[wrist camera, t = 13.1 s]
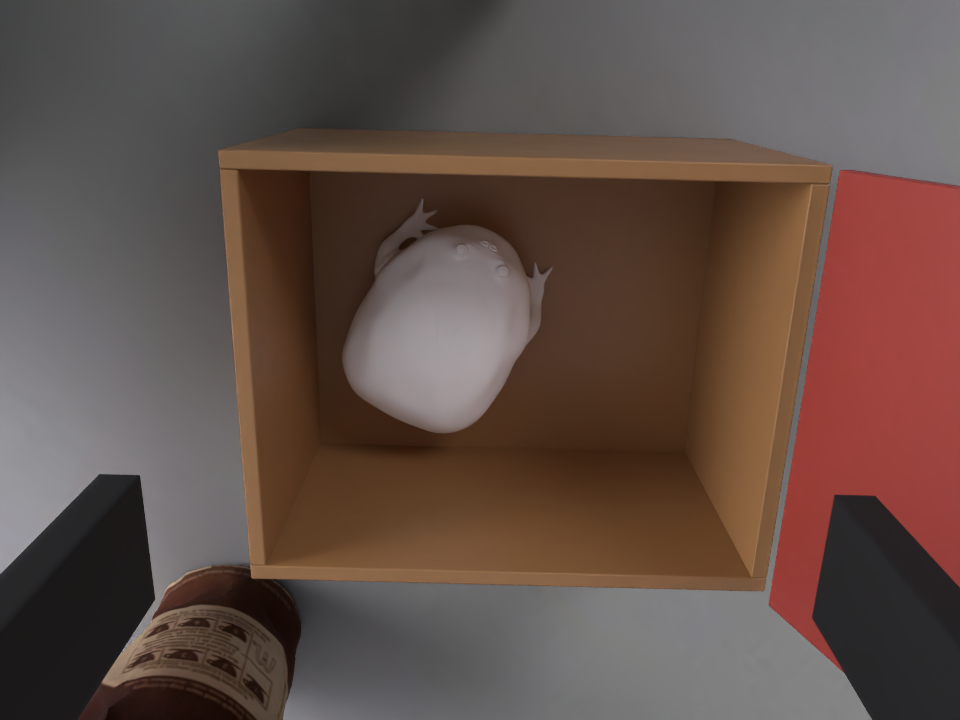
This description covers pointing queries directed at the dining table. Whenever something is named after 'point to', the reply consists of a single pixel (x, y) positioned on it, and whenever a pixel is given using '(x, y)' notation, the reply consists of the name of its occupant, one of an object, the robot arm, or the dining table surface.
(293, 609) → the coffee cup
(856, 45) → the dining table surface
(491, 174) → the carton
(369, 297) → the white frog figurine
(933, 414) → the flap
